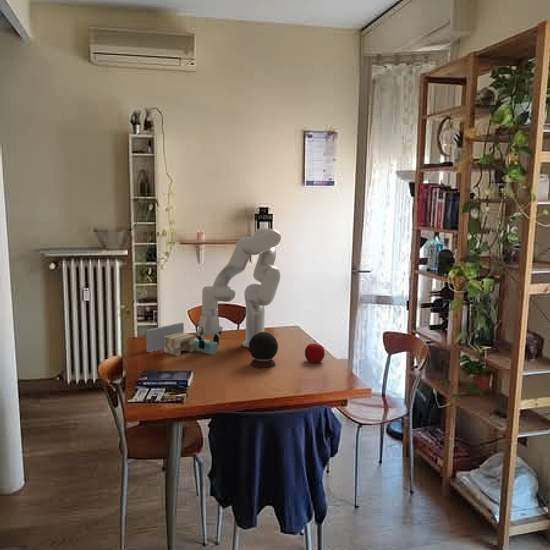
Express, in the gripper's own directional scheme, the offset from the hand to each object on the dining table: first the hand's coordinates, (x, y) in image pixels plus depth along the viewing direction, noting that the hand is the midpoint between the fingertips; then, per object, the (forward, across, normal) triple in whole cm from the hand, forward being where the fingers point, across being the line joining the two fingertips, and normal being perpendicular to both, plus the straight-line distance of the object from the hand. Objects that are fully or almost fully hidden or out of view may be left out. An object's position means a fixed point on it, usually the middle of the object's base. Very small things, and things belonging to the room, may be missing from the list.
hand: (208, 346), depth 258 cm
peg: (+3, -1, -4) cm, 5 cm away
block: (+3, +9, -11) cm, 15 cm away
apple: (+2, -22, +47) cm, 52 cm away
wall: (+3, +9, -21) cm, 23 cm away
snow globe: (+3, -3, +32) cm, 32 cm away
